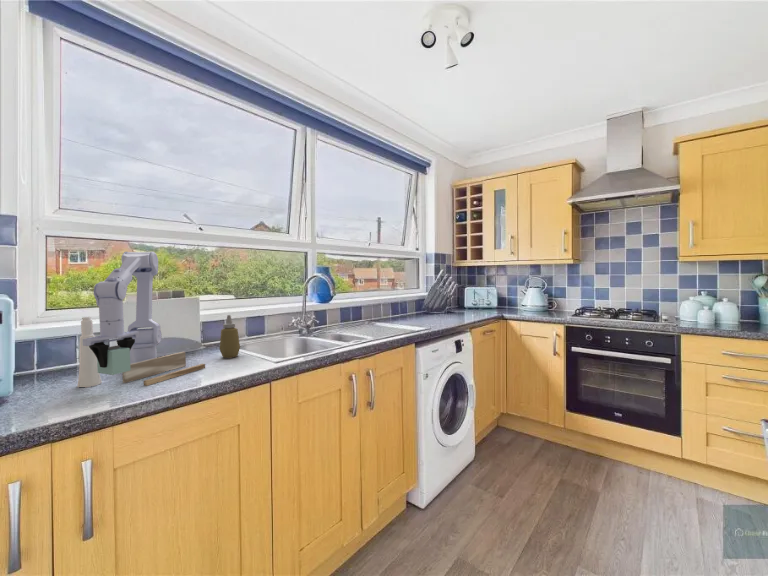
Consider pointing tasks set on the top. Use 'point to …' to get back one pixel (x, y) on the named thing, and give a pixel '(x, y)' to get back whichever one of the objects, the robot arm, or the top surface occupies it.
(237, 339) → the squeeze bottle
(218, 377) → the top surface
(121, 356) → the teal box
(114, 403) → the top surface
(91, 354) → the cosmetic bottle
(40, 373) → the top surface
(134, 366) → the cleat board
